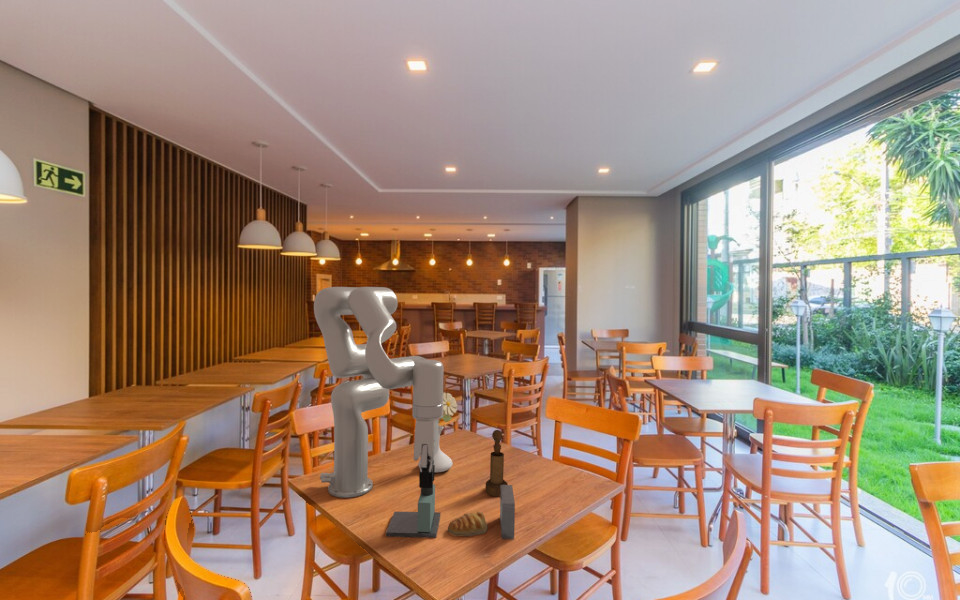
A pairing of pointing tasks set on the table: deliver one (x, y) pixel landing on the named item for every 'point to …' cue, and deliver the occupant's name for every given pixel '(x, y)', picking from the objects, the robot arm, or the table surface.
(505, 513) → the block
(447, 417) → the flower in vase
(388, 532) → the dark grey flat plate
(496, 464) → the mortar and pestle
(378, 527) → the table surface
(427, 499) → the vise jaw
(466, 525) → the pastry
